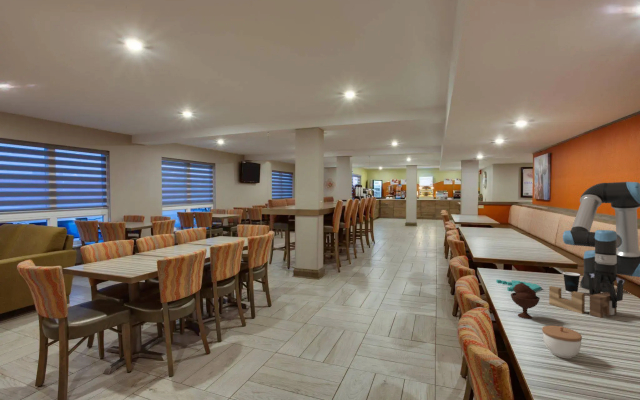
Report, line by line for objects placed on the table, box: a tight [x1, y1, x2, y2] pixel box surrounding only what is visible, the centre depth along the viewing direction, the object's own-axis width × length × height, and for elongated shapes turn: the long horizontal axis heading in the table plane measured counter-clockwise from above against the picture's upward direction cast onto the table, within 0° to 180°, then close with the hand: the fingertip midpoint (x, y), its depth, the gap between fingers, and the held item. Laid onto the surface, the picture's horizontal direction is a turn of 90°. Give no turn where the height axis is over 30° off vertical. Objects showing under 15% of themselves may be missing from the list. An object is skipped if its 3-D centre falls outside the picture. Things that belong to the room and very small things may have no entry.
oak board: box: [548, 285, 586, 314], centre depth 151 cm, size 2×14×9 cm, turn 24°
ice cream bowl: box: [510, 284, 540, 320], centre depth 140 cm, size 11×11×15 cm
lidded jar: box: [541, 325, 583, 360], centre depth 106 cm, size 11×11×9 cm
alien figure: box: [496, 279, 542, 293], centre depth 188 cm, size 20×2×20 cm
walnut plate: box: [589, 292, 618, 319], centre depth 143 cm, size 14×4×9 cm, turn 114°
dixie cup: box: [562, 271, 581, 294], centre depth 177 cm, size 8×8×11 cm
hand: (605, 312), depth 144 cm, fingers closed on walnut plate, 4 cm apart
